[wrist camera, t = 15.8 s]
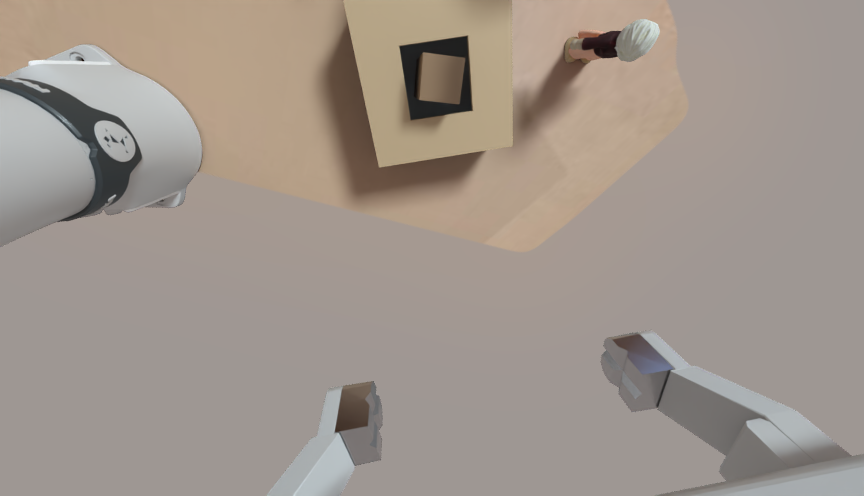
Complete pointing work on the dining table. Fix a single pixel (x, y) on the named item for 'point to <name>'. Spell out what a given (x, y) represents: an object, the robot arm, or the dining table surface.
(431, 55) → the walnut peg
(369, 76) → the box with square hole
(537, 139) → the dining table surface
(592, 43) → the grandmother figurine
